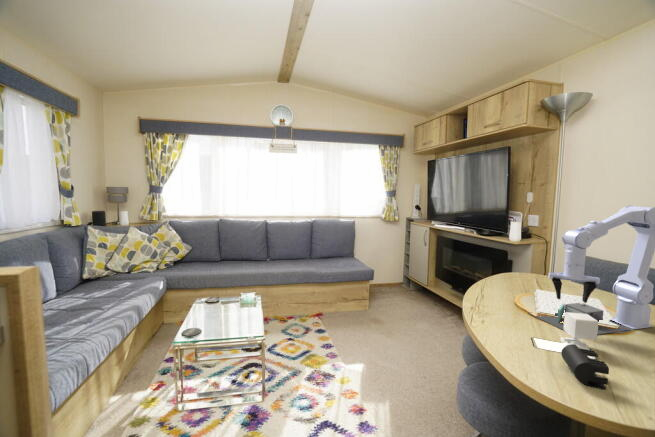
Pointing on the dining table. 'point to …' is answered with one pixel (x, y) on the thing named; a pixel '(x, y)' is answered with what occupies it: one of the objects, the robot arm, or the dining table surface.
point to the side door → (560, 312)
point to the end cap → (585, 366)
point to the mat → (560, 325)
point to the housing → (584, 310)
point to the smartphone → (552, 346)
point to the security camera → (579, 329)
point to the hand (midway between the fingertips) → (571, 300)
